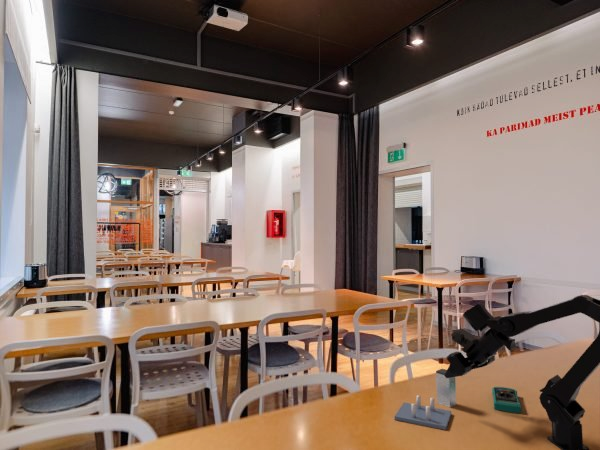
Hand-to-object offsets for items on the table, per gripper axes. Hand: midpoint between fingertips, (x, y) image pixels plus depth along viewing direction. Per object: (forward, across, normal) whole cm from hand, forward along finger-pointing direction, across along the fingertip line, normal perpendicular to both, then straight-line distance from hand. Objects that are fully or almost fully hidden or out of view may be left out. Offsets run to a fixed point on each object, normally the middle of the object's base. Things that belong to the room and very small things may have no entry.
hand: (453, 373), depth 122 cm
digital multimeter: (+1, -15, +14) cm, 20 cm away
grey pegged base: (+8, +14, +6) cm, 17 cm away
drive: (+9, 0, +5) cm, 11 cm away
